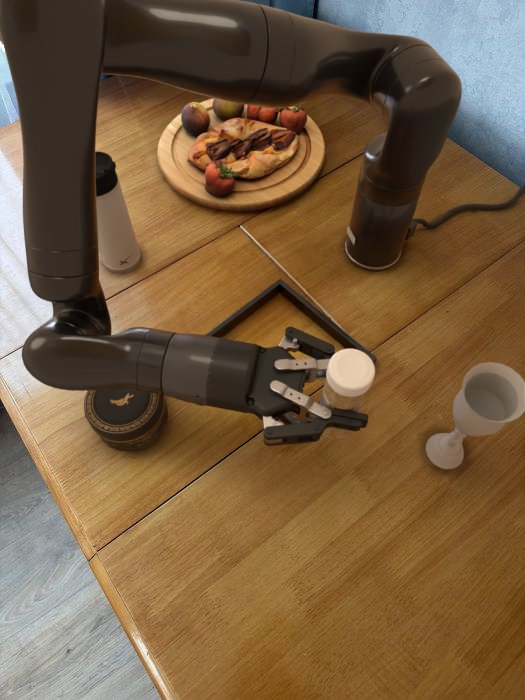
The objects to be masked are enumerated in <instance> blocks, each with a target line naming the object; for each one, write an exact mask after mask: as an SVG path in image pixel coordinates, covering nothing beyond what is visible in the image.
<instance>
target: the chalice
mask: <svg viewBox="0 0 525 700" xmlns="http://www.w3.org/2000/svg"><path fill="white" fill-rule="evenodd" d="M452 404H453V405H452V418H453V422H454V425H455V428H454V430H452V431H451V432H440V433H435V434H433V435H431V436H430V437H429V438H428V439H427V441H426V444H425V453H426V456H427V458H428V459H429V461H430V462H431V463H432V464H433V465H434V466H436V467H438V468H440V469H444V470H452V469H456V468H457V467H459V466H460V465H461V464H462V463H463V460H464V458H465V457H464V455H465V451H464V446H463V441H464V439H465V438H466V437H467V436H469V437H476V438H477V437H484V436H491V435H493V434H495V433H497V432H499V431H500V430H501V429H502V427H504V425H506V424H507V423H509V422H513V421H514V420H516V419H519V418H520V417H521V416H522V415H523V414H524V413H525V380H524V379H523V377H522V376H521V374H520V373H518V372H517V371H515V369H513V368H512V367H509V366H508V365H505V364H503V363H500V362H493V361H488V362H482V363H481V362H480V363H479V364H476V365H474V366H472V368H470V369H469V370H468V371H467V372H466V373H465V376H464V378H463V380H462V386H461V388H460V390H459V391H458V393H457V394H456V396H455V397H454V400H453V402H452Z"/></svg>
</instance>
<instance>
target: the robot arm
mask: <svg viewBox="0 0 525 700" xmlns="http://www.w3.org/2000/svg"><path fill="white" fill-rule="evenodd" d="M0 48H1V50H2V51H3V52H4V53H5V58H6V61H7V65H8V69H9V72H10V76H11V80H12V85H13V88H14V93H15V98H16V104H17V108H18V115H19V123H20V131H21V141H22V142H21V143H22V159H23V160H22V165H23V166H22V171H23V172H22V224H23V239H24V250H25V258H26V267H27V270H26V271H27V277H28V283H29V286H30V288H31V289H30V290H32V292H33V293H34V295H35V296H36V297H38V298H39V299H41V300H42V301H46V302H49V303H51V305H52V317H51V318H50V319H48V320H47V321H46V322H44V323H43V324H42V325H40V326H39V327H37V328H36V329H35V330H33V331H32V333H30V334H29V335H28V337H26V340H25V341H24V343H23V346H22V349H21V359H22V363H23V366H24V367H25V369H26V371H27V372H28V374H30V376H32V377H33V378H34V379H35V380H36V381H38V382H40V383H42V384H43V385H45V386H47V387H50V388H53V389H58V390H62V391H72V392H74V391H75V392H85V391H86V392H87V391H91V390H115V389H134V390H138V391H143V392H149V393H154V394H159V395H164V397H169V398H173V399H176V400H179V401H182V402H184V403H190V404H194V405H196V406H200V407H202V406H203V407H204V406H205V407H211V408H214V409H215V408H216V409H222V410H226V411H232V412H237V413H243V414H252V415H254V416H255V417H257V418H258V419H260V420H262V426H263V430H262V431H263V434H262V439H263V440H262V441H263V444H264V445H265V446H266V447H276V446H288V445H299V444H300V445H301V444H309V443H310V444H311V443H317V442H319V441H320V439H321V437H322V436H323V432H324V430H325V429H326V428H328V427H333V428H339V429H344V430H349V431H352V432H359V431H361V429H365V428H367V425H368V423H369V414H368V413H365V412H360V411H359V412H354V411H349V410H343V409H338V408H333V411H331V410H330V409H329V408H327V407H325V406H323V405H321V404H319V402H316V401H315V400H313V398H312V397H310V396H308V395H306V394H304V388H305V385H306V384H311V383H314V382H316V381H320V380H321V381H322V380H326V379H327V378H326V371H327V367H328V364H329V361H330V359H331V357H332V356H333V355H334V354H335V353H336V347H335V345H334V344H332V343H330V342H327V341H326V340H323V339H321V338H319V337H317V336H314V335H312V334H310V333H308V332H306V331H303V330H301V329H298V328H297V327H294V326H287V327H286V328H285V330H284V337H283V338H282V339H281V341H280V343H279V344H278V345H273V346H270V347H269V346H268V347H264V346H262V345H259V344H257V343H252V342H247V341H240V340H234V339H230V338H225V337H224V338H223V337H222V338H218V337H212V336H206V334H200V333H184V332H183V333H182V332H175V331H169V330H164V329H158V328H153V327H151V328H150V327H145V326H133V327H129V328H127V329H125V330H123V331H121V332H119V333H116V334H112V319H111V313H110V311H109V307H108V303H107V300H106V296H105V292H104V289H103V286H102V284H101V281H100V253H99V244H98V222H97V202H96V176H95V152H96V147H97V146H96V145H97V142H96V140H97V127H98V126H97V124H98V112H99V111H98V110H99V100H100V99H99V98H100V91H101V84H102V76H103V75H113V76H126V77H132V78H133V77H134V78H140V79H145V80H150V81H153V82H157V83H161V84H164V85H167V86H171V87H173V88H177V89H180V90H184V91H186V92H191V93H193V94H198V95H202V96H205V97H209V98H212V99H213V98H217V99H221V100H225V101H230V102H234V103H240V104H247V105H254V106H261V107H268V108H289V107H293V106H294V107H298V106H300V105H302V104H304V103H306V102H309V101H311V100H313V99H315V98H317V97H319V96H322V95H327V94H328V95H332V94H333V95H339V96H346V97H350V98H354V99H357V100H359V101H362V102H366V103H367V104H369V105H370V106H371V107H373V109H374V110H375V111H376V112H377V114H378V115H379V116H380V118H381V119H382V120H383V122H384V123H385V124H386V125H387V130H386V132H382V133H379V134H377V135H375V136H374V137H372V138H371V139H370V140H369V141H368V142H367V144H366V145H365V148H364V149H363V155H362V158H361V163H360V169H359V175H358V179H357V185H356V190H355V195H354V200H353V205H352V209H351V210H352V211H351V215H350V220H349V225H347V229H346V233H347V235H346V239H345V241H344V252H345V255H346V257H347V258H348V260H349V261H350V262H351V263H352V264H353V265H355V266H357V267H358V268H360V269H362V270H366V271H373V272H378V271H384V270H388V269H390V268H392V267H394V266H395V265H396V264H397V262H398V261H399V260H400V258H401V254H402V249H403V247H404V245H405V242H408V241H409V240H411V238H413V237H414V236H415V233H416V229H417V227H418V224H419V225H421V226H423V227H424V228H427V229H431V228H435V227H437V226H439V225H441V224H442V223H444V221H446V220H448V219H449V218H450V217H452V216H453V215H454V214H457V213H459V212H462V211H466V210H490V211H491V210H501V209H506V208H508V207H511V206H512V205H514V204H515V203H516V202H517V201H518V200H519V199H520V198H521V197H522V196H523V194H524V193H525V184H523V185H522V186H521V187H520V188H519V189H518V191H517V192H516V193H515V194H514V196H513V197H511V199H509V200H508V201H506V202H501V203H495V204H494V203H493V204H490V203H489V204H488V203H487V204H486V203H466V204H462V205H458V206H456V207H454V208H452V209H450V210H448V211H447V212H445V213H444V214H443V215H442V216H441V217H439V218H437V219H436V220H434V221H431V222H428V221H427V220H426V219H424V218H414V216H415V213H416V209H417V206H418V203H419V199H420V195H421V193H422V190H423V187H424V184H425V182H426V178H427V175H428V172H429V170H430V169H431V167H432V166H433V165H434V164H435V162H436V161H437V160H438V158H439V156H440V154H441V152H442V150H443V149H444V148H443V147H444V145H445V143H446V140H447V138H448V135H449V133H450V130H451V128H452V127H453V124H454V121H455V119H456V116H457V113H458V110H459V107H460V104H461V100H462V95H463V84H462V81H461V80H462V79H461V78H460V76H459V75H458V73H457V72H456V71H455V70H454V68H452V67H451V65H450V64H448V62H447V61H446V60H445V59H444V58H443V57H442V55H440V54H439V52H437V50H436V49H435V48H434V47H433V46H432V45H430V43H428V42H427V41H425V40H423V39H421V38H418V37H416V36H409V35H405V34H404V35H403V34H392V33H382V32H381V33H380V32H370V31H361V30H355V29H350V28H346V27H342V26H339V25H336V24H333V23H331V22H327V21H323V20H320V19H319V20H318V19H315V18H311V17H308V16H307V17H306V16H303V15H299V14H297V13H294V12H290V11H287V10H284V9H280V8H276V7H273V6H268V5H265V4H259V3H255V2H251V1H245V0H0ZM290 352H292V353H297V352H299V353H301V354H303V355H305V356H308V358H307V357H305V358H295V356H293V355H292V353H290ZM286 413H290V414H291V415H292V416H293V417H296V418H298V419H300V420H308V421H310V422H312V423H302V424H291V425H285V424H284V423H283V422H282V421H281V420H275V419H276V418H278V417H279V416H281V415H283V414H286Z"/></svg>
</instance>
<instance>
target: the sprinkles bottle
mask: <svg viewBox="0 0 525 700" xmlns="http://www.w3.org/2000/svg"><path fill="white" fill-rule="evenodd" d="M375 375H376V367H375V365H374V364H373V362H372V360H371V359H370V357H369V356H368V355H366V354H365V353H364V352H362V351H360V350H356V349H346V348H343V349H341V350H338V351H336V352H335V354H334V355H333V356H332V357H331V359H330V361H329V364H328V367H327V371H326V378H327V379H325V383H324V385H323V390H322V393H321V398H320V402H319V403H320V404H321V405H323V406H325V407H327V408H329V409H330V410H331V411H333V408H338V409H343V410H349V411H354V412H360V411H361V408H362V406H363V404H364V399H365V397H366V394H367V392H368V390H369V389H370V388H371V386H372V383H373V382H374V379H375ZM352 432H353V431H349V430H344V429H339V428H333V427H328V428H326V429H325V430H324V432H323V434H322V436H324V437H326V438H327V439H333V440H342V439H344V438H346V437H348V436H349V435H350V434H351V433H352Z"/></svg>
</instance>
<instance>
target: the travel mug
mask: <svg viewBox="0 0 525 700" xmlns="http://www.w3.org/2000/svg"><path fill="white" fill-rule="evenodd" d="M116 169H117V164H116V161H114V159H113V158H112V156H111V155H110V154H109V153H106V152H105V151H98V150H97V151H95V176H96V202H97V222H98V244H99V257H100V258H101V261H102V264H103V265H104V268H105V269H106V270H107V271H108V272H110V273H111V274H117V275H124V274H128V273H130V272H132V271H134V270H135V269H137V268H138V266H139V265H140V263H141V261H142V254H141V251H140V247H139V244H138V240H137V237H136V234H135V230H134V226H133V224H132V220H131V216H130V213H129V210H128V207H127V203H126V200H125V199H126V198H125V196H124V193H123V190H122V186H121V183H120V180H119V176H118V174H117V172H116Z"/></svg>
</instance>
